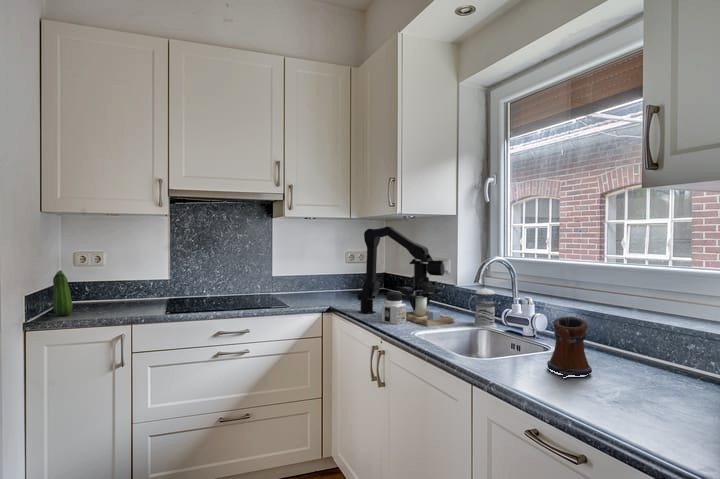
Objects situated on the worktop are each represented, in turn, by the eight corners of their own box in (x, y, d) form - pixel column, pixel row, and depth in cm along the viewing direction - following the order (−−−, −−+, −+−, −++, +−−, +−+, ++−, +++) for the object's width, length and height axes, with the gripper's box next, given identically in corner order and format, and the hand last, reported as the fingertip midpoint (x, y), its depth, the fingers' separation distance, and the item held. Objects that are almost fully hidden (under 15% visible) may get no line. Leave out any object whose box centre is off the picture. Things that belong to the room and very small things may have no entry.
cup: (410, 312, 201) (410, 296, 201) (421, 311, 204) (421, 295, 204) (418, 314, 196) (418, 298, 196) (429, 313, 199) (429, 298, 198)
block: (427, 320, 192) (427, 310, 192) (434, 319, 194) (434, 310, 194) (433, 321, 188) (433, 312, 188) (440, 320, 190) (440, 311, 190)
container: (396, 324, 186) (397, 293, 185) (381, 322, 190) (381, 291, 190) (406, 321, 192) (406, 291, 191) (391, 319, 196) (391, 290, 196)
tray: (400, 317, 201) (400, 312, 201) (425, 315, 208) (425, 310, 208) (427, 326, 183) (427, 320, 183) (454, 323, 190) (454, 318, 190)
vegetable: (71, 316, 194) (71, 270, 194) (51, 317, 191) (51, 271, 190) (73, 313, 200) (73, 269, 200) (54, 314, 197) (54, 269, 197)
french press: (498, 328, 181) (499, 266, 181) (468, 326, 183) (469, 266, 183) (495, 323, 191) (496, 264, 190) (467, 322, 193) (468, 264, 192)
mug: (585, 388, 112) (587, 329, 112) (537, 379, 119) (538, 323, 118) (594, 370, 127) (595, 318, 127) (551, 363, 134) (552, 313, 133)
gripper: (413, 277, 188) (413, 314, 188) (448, 275, 197) (447, 310, 197) (399, 274, 198) (398, 309, 198) (432, 273, 207) (432, 306, 207)
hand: (419, 309), depth 200 cm, fingers closed on cup, 6 cm apart
